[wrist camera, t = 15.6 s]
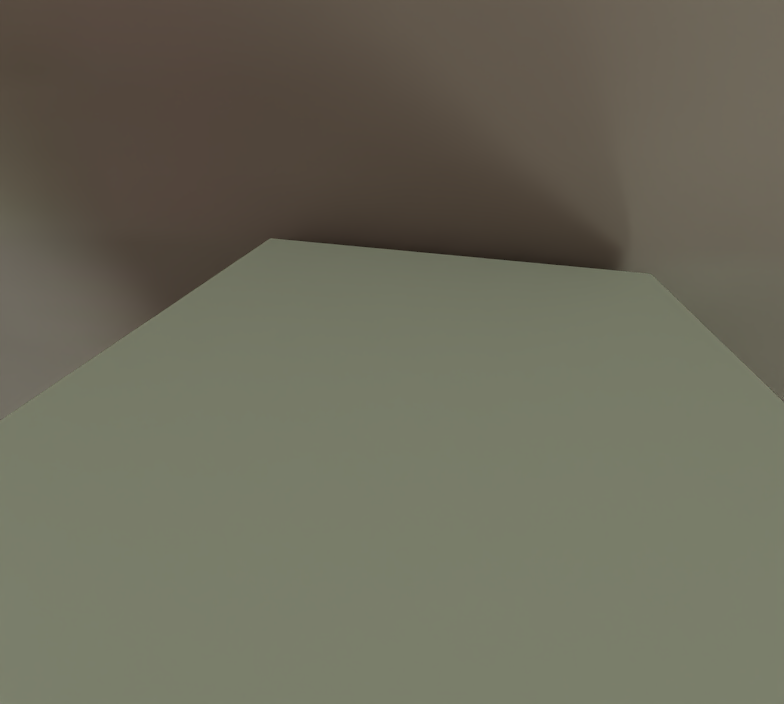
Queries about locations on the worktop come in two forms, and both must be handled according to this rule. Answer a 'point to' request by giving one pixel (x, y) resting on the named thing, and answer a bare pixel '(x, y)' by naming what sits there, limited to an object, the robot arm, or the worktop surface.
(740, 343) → the worktop surface
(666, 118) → the worktop surface
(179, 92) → the worktop surface
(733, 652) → the pale green cube
